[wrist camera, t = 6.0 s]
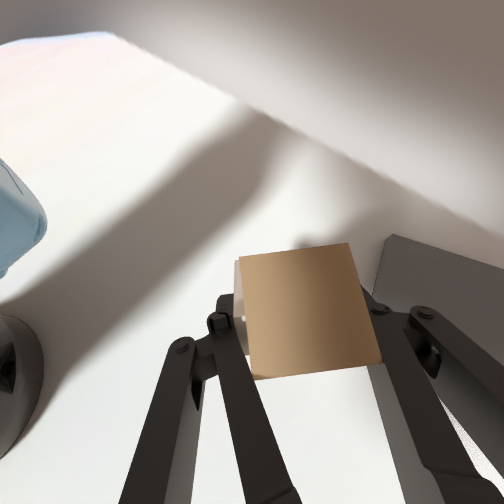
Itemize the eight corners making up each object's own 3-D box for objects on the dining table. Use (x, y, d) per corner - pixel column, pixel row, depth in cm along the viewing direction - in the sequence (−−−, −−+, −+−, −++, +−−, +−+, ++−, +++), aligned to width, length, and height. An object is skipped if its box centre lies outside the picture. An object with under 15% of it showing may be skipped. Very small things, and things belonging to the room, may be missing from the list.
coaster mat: (360, 343, 23) (366, 343, 21) (385, 239, 27) (392, 233, 25) (496, 399, 21) (513, 404, 19) (503, 278, 24) (517, 274, 23)
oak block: (257, 358, 19) (252, 380, 9) (250, 297, 21) (238, 256, 11) (318, 350, 19) (383, 363, 9) (305, 290, 21) (347, 242, 11)
